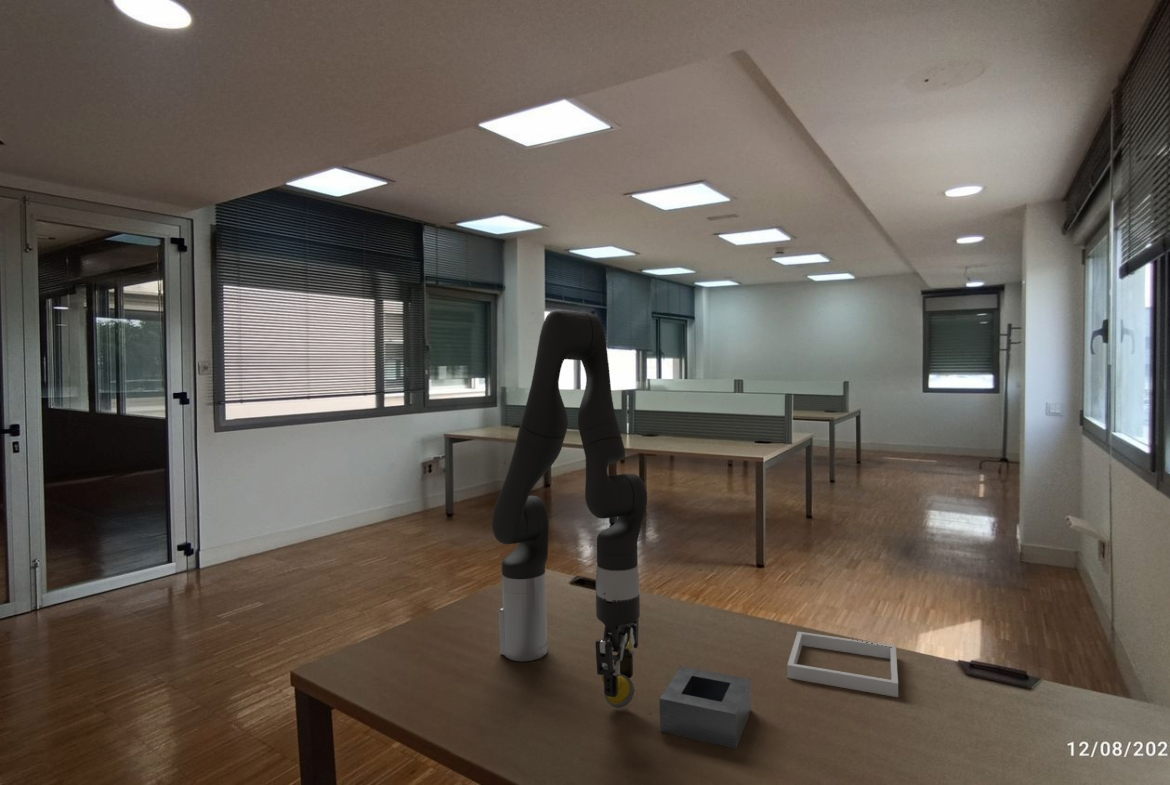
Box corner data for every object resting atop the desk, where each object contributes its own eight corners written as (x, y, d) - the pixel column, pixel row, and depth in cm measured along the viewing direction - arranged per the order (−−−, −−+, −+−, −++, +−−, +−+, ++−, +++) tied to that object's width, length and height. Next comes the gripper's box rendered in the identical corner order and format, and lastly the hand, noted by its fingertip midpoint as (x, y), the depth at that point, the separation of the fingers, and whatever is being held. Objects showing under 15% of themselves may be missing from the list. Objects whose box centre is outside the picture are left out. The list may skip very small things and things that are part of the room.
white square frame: (787, 677, 120) (787, 664, 120) (797, 642, 135) (797, 631, 135) (898, 697, 112) (898, 683, 111) (895, 657, 127) (895, 645, 127)
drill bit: (643, 708, 108) (618, 686, 102) (615, 717, 110) (589, 696, 104) (637, 678, 113) (613, 655, 107) (611, 687, 114) (586, 665, 108)
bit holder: (660, 731, 103) (659, 698, 102) (681, 695, 114) (681, 666, 114) (736, 748, 97) (735, 714, 97) (750, 709, 109) (750, 678, 108)
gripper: (613, 575, 116) (614, 664, 116) (579, 601, 103) (581, 701, 103) (652, 580, 112) (653, 671, 113) (622, 608, 99) (623, 711, 100)
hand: (619, 685), depth 108 cm, fingers closed on drill bit, 6 cm apart
